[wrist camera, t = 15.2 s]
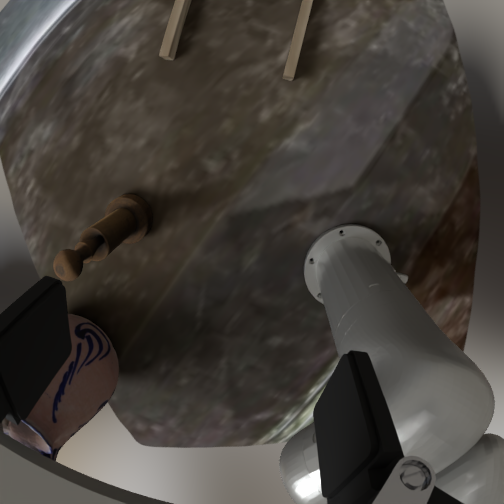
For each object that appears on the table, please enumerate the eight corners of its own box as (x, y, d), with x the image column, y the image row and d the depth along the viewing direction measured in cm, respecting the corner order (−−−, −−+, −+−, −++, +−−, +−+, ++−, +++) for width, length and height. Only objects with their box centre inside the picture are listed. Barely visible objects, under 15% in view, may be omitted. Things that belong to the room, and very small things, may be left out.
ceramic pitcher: (90, 381, 55) (40, 472, 32) (27, 301, 49) (-51, 379, 26) (149, 362, 52) (100, 478, 28) (77, 265, 45) (-22, 360, 22)
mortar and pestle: (105, 225, 42) (31, 280, 26) (119, 185, 40) (40, 225, 23) (143, 246, 43) (82, 313, 27) (160, 206, 41) (96, 259, 24)
